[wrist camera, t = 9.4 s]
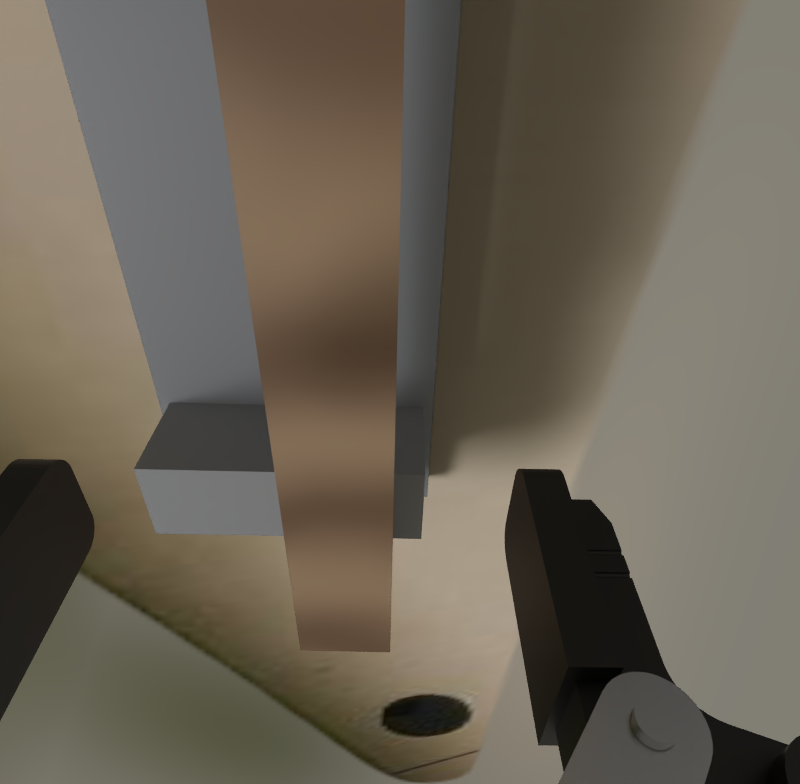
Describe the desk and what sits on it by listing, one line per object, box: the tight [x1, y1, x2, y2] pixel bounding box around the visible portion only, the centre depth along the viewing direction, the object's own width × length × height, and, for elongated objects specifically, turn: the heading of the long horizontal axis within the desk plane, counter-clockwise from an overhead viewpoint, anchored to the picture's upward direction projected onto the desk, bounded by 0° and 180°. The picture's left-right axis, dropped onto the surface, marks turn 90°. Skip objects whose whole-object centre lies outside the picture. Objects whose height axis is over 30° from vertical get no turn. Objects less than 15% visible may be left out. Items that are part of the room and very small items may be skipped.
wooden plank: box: [206, 0, 405, 652], centre depth 16 cm, size 28×4×5 cm, turn 179°
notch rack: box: [45, 0, 461, 539], centre depth 20 cm, size 30×13×9 cm, turn 179°
